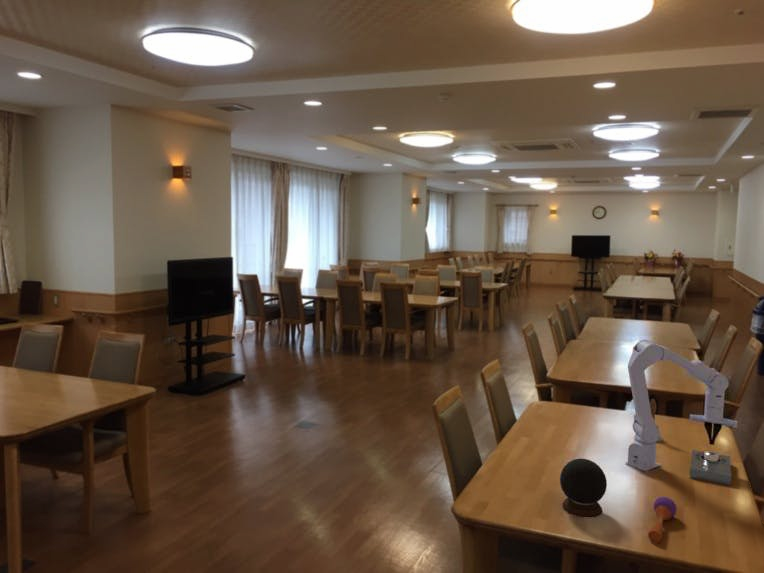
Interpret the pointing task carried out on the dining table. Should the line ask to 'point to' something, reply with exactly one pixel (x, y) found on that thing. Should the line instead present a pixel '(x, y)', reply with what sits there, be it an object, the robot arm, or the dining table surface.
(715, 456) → the bushing
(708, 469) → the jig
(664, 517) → the kendama
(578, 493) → the black ball on stand
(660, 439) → the hand bell
